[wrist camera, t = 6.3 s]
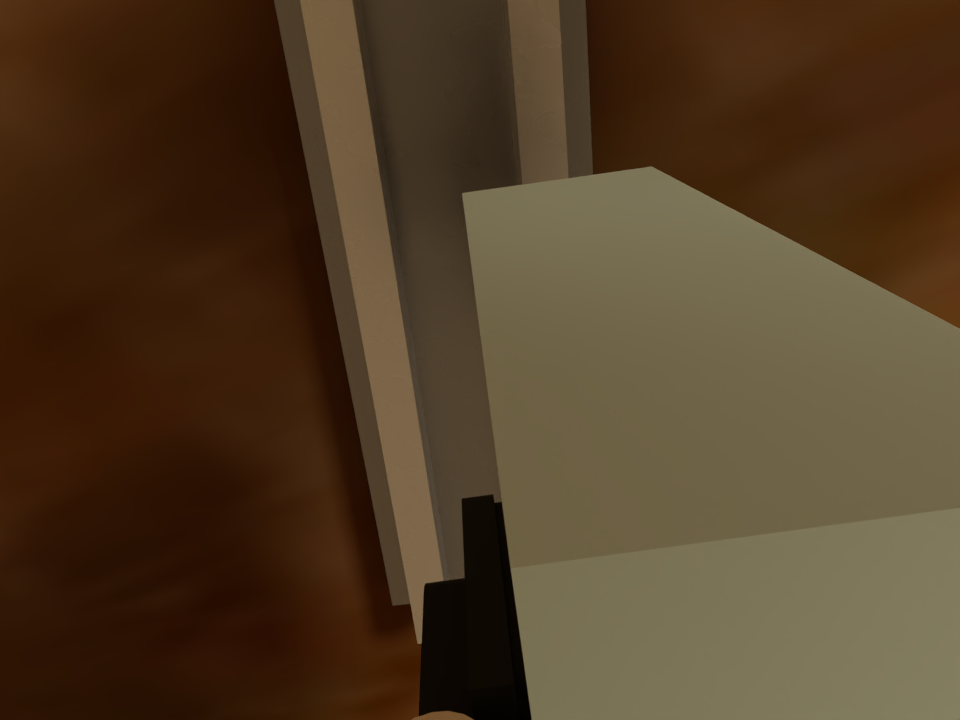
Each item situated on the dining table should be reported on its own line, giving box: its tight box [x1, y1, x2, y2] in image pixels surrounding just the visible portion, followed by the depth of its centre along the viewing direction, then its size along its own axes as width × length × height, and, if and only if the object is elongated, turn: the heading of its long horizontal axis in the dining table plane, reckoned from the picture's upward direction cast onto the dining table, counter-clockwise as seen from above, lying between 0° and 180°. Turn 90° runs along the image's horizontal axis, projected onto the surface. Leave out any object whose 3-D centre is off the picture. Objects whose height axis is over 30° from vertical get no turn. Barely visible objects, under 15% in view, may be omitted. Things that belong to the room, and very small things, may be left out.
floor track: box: [274, 0, 593, 644], centre depth 26 cm, size 30×10×4 cm, turn 6°
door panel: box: [462, 167, 960, 720], centre depth 9 cm, size 12×3×9 cm, turn 7°
